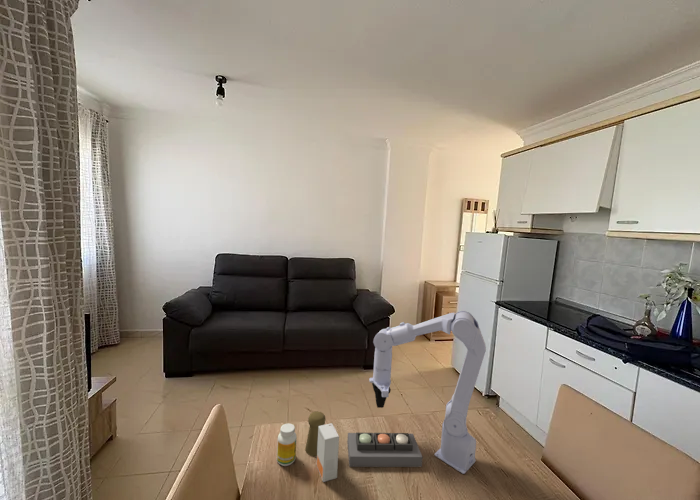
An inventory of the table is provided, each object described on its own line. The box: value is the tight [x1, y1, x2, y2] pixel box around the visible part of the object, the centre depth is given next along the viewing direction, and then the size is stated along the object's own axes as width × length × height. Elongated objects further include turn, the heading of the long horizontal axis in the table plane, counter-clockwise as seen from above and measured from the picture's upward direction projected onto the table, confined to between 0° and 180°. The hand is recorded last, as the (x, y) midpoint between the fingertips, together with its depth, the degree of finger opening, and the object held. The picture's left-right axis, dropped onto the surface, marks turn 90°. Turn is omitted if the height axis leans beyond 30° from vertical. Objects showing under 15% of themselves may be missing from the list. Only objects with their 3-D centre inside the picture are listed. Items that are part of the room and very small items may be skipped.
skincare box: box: [315, 422, 340, 483], centre depth 82 cm, size 6×4×12 cm
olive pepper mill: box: [304, 410, 326, 457], centre depth 91 cm, size 6×6×11 cm
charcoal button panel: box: [346, 432, 423, 468], centre depth 91 cm, size 21×10×5 cm, turn 94°
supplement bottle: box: [276, 422, 298, 467], centre depth 86 cm, size 5×5×10 cm
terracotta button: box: [378, 434, 390, 444], centre depth 91 cm, size 4×4×2 cm
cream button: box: [396, 434, 408, 444], centre depth 91 cm, size 4×4×2 cm
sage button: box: [359, 434, 371, 443], centre depth 90 cm, size 4×4×2 cm
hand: (379, 406), depth 99 cm, fingers closed
